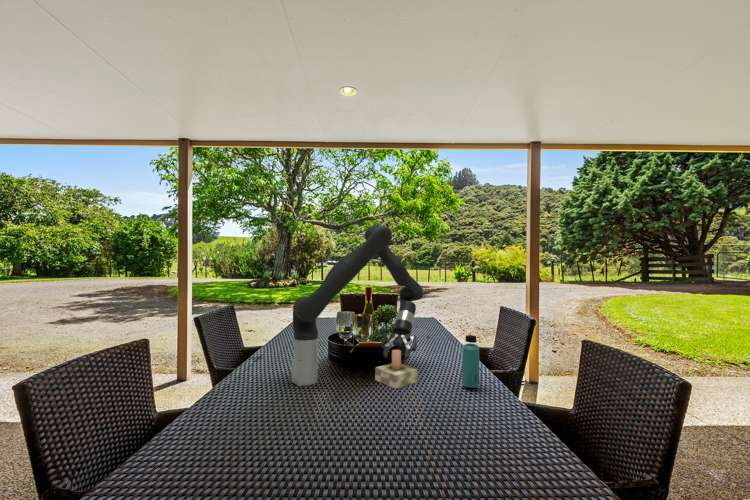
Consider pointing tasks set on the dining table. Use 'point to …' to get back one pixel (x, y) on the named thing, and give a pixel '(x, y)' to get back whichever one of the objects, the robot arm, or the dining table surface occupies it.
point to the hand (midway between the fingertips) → (395, 358)
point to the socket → (396, 375)
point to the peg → (396, 360)
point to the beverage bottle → (470, 363)
